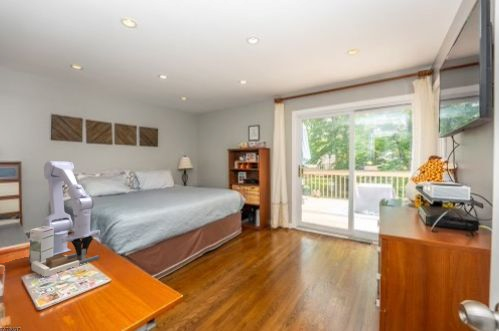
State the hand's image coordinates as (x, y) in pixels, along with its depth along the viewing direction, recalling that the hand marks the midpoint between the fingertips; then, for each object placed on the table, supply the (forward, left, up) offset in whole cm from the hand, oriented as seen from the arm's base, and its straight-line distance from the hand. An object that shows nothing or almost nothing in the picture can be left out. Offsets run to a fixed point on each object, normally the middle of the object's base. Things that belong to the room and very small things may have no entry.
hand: (81, 254), depth 100 cm
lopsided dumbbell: (0, -5, -2) cm, 6 cm away
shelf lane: (0, -8, -2) cm, 9 cm away
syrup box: (-13, -10, -3) cm, 16 cm away
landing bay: (0, 0, -2) cm, 2 cm away
